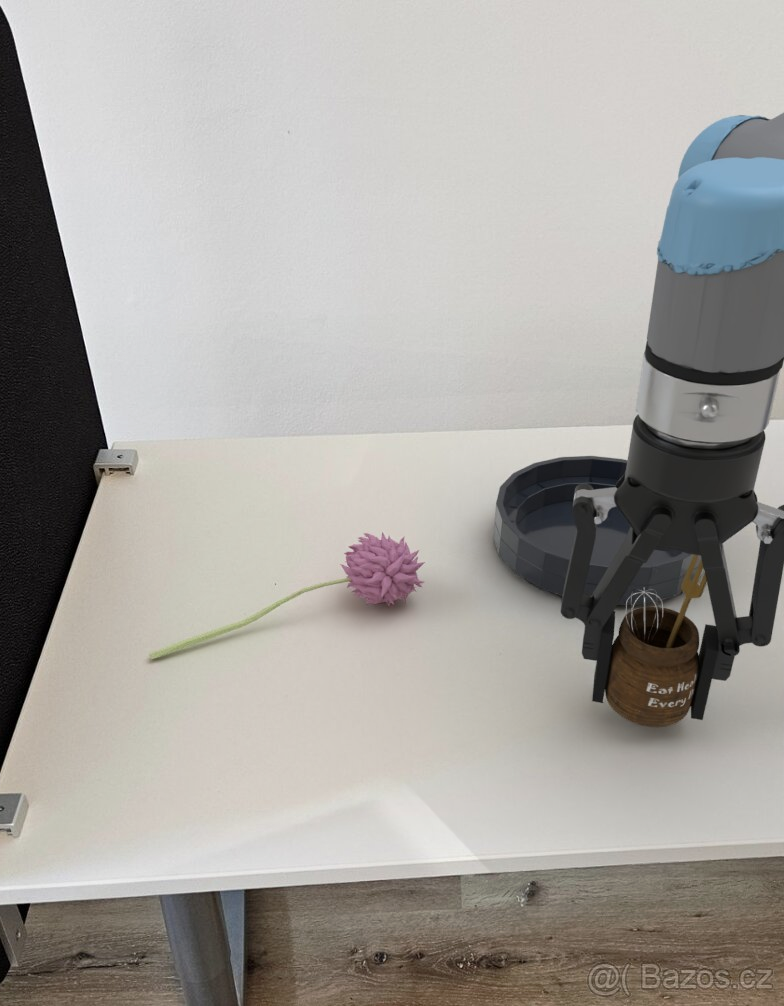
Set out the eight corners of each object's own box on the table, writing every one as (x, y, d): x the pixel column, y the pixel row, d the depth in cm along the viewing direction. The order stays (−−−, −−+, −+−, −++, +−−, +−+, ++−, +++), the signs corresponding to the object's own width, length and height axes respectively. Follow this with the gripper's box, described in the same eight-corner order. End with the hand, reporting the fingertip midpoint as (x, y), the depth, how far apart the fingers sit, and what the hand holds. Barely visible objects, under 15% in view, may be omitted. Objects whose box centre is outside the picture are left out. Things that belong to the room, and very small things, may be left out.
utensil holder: (585, 693, 80) (604, 564, 74) (647, 662, 82) (671, 534, 76) (647, 742, 75) (674, 609, 69) (711, 708, 78) (743, 575, 71)
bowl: (702, 508, 102) (711, 468, 100) (707, 626, 88) (718, 582, 86) (505, 485, 108) (509, 446, 106) (480, 591, 94) (484, 549, 92)
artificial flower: (176, 717, 88) (444, 602, 92) (152, 648, 85) (430, 532, 89) (154, 678, 94) (407, 571, 98) (131, 612, 91) (392, 505, 95)
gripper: (533, 435, 67) (507, 709, 79) (886, 468, 60) (796, 760, 73) (544, 381, 72) (518, 644, 85) (867, 406, 66) (787, 687, 78)
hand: (646, 697), depth 79 cm, fingers closed on utensil holder, 6 cm apart
